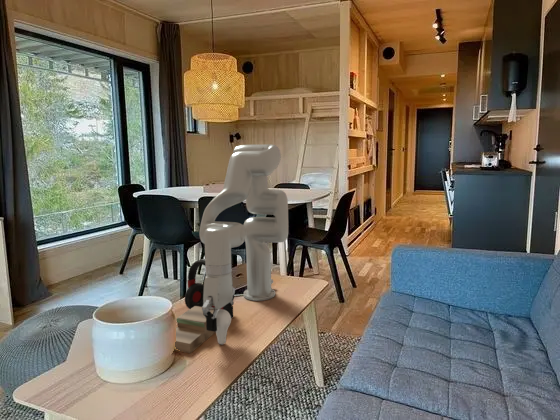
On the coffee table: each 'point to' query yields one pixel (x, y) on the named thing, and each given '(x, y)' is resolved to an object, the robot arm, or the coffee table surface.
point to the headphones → (195, 287)
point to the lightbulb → (222, 325)
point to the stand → (191, 330)
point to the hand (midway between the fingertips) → (220, 323)
